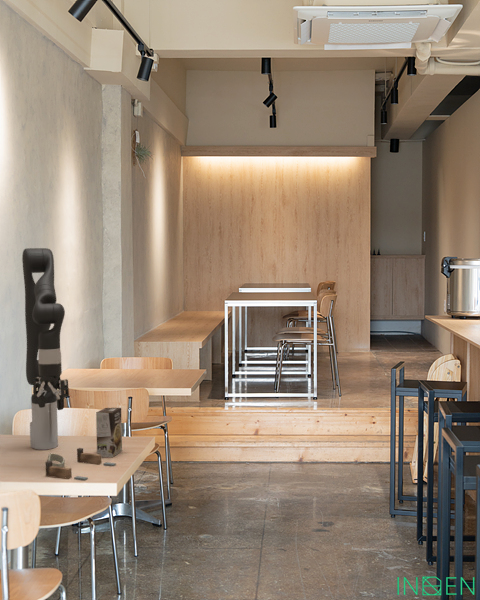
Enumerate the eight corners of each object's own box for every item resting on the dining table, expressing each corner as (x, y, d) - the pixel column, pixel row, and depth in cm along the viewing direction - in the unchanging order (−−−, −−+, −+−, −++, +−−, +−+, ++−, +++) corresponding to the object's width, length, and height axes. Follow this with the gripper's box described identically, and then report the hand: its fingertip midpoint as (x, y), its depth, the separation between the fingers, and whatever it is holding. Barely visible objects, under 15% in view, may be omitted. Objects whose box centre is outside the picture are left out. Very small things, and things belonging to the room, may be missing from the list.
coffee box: (113, 457, 229) (112, 412, 228) (96, 456, 230) (95, 412, 229) (123, 450, 238) (121, 407, 237) (106, 450, 239) (105, 406, 238)
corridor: (45, 475, 209) (45, 462, 209) (79, 460, 226) (79, 448, 226) (68, 478, 206) (68, 464, 205) (101, 463, 222) (101, 450, 222)
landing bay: (74, 479, 205) (74, 477, 205) (106, 463, 221) (105, 462, 221) (84, 480, 204) (84, 478, 204) (115, 465, 220) (115, 463, 220)
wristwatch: (46, 464, 222) (46, 450, 222) (65, 463, 224) (65, 448, 223) (45, 472, 213) (44, 457, 213) (65, 470, 215) (64, 456, 215)
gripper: (26, 361, 221) (27, 408, 222) (57, 364, 214) (58, 412, 215) (42, 359, 228) (44, 404, 228) (73, 361, 221) (74, 408, 222)
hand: (51, 408), depth 222 cm, fingers open, 8 cm apart
